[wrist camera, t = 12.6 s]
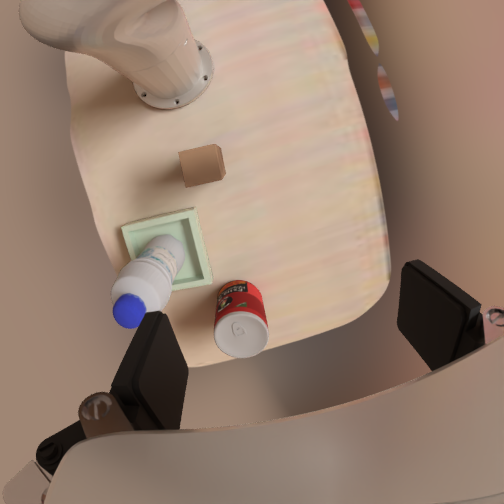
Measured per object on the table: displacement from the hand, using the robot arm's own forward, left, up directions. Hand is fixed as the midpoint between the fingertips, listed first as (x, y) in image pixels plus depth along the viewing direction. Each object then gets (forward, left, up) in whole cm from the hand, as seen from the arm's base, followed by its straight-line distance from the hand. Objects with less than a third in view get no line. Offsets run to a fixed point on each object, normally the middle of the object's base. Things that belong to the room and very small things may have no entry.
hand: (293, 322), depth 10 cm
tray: (+6, -14, -33) cm, 37 cm away
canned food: (+17, -5, -34) cm, 38 cm away
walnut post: (-6, -5, -33) cm, 34 cm away
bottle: (+6, -14, -33) cm, 36 cm away
